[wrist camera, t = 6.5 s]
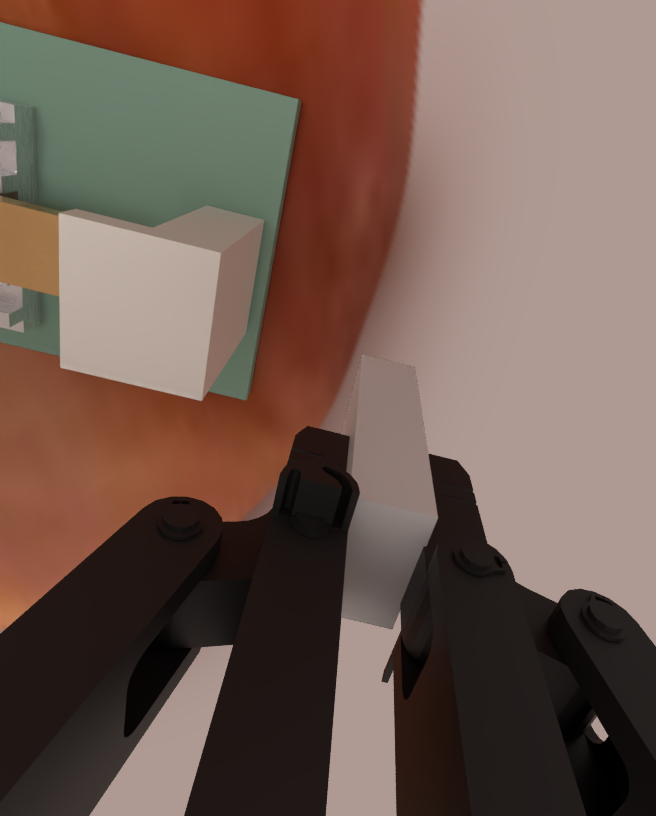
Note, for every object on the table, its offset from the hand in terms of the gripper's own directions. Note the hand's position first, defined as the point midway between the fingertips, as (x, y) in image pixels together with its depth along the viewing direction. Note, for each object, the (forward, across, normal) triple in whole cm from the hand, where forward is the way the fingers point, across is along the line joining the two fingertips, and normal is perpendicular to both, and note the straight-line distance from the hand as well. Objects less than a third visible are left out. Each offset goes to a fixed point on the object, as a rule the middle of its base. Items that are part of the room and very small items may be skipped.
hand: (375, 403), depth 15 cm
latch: (+9, -8, 0) cm, 12 cm away
